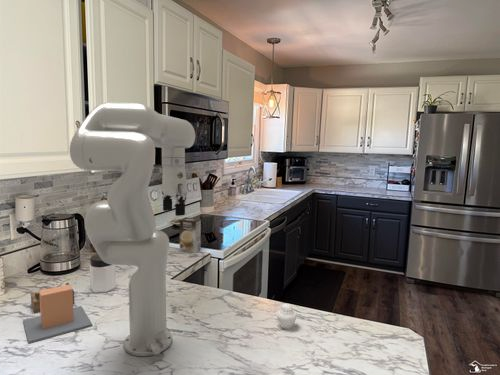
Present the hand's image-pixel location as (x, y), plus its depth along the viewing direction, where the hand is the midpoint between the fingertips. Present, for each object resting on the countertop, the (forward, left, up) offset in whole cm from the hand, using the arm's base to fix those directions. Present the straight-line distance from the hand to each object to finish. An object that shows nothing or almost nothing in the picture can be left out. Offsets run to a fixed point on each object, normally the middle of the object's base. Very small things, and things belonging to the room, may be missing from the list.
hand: (173, 212), depth 120 cm
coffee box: (+45, -30, -31) cm, 62 cm away
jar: (+22, +18, -31) cm, 42 cm away
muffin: (-37, -19, -31) cm, 52 cm away
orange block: (+3, +36, -30) cm, 47 cm away
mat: (+3, +36, -30) cm, 47 cm away
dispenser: (+18, +35, -30) cm, 50 cm away
